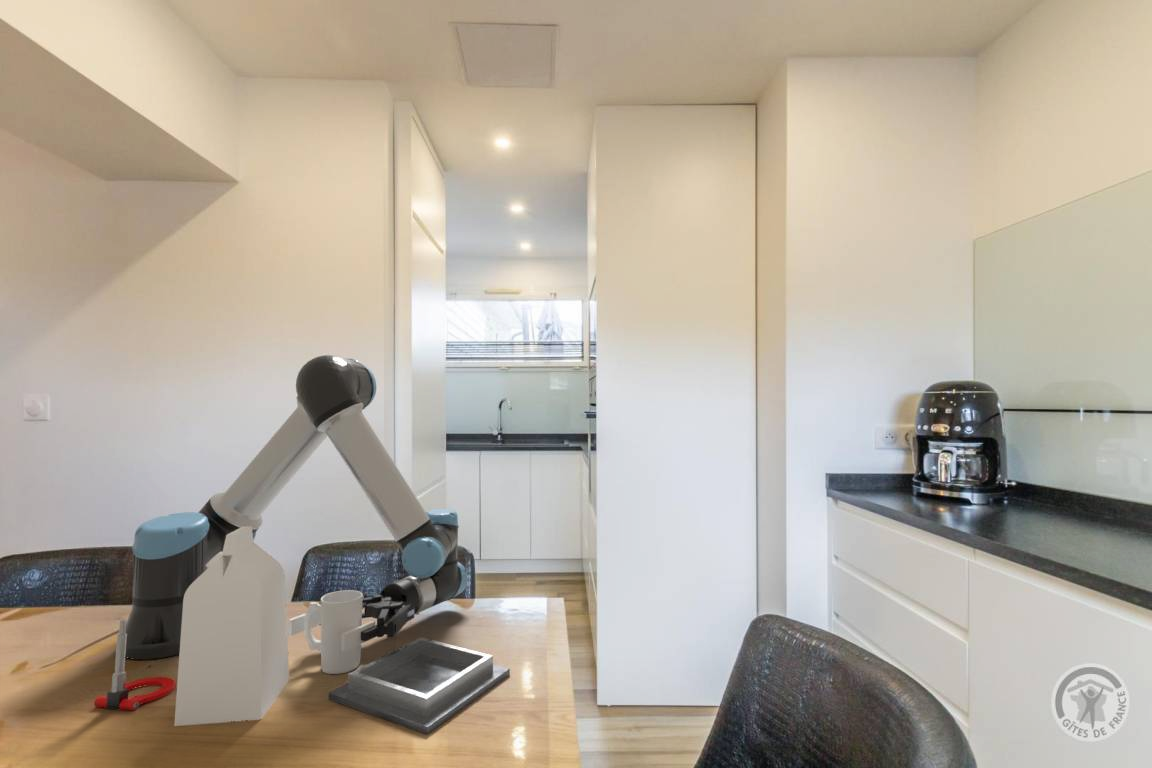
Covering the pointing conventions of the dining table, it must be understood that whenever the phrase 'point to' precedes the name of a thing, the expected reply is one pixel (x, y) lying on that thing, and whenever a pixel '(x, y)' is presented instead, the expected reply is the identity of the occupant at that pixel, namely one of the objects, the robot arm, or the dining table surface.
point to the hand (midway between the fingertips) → (315, 635)
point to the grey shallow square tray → (420, 683)
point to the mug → (336, 629)
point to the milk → (233, 636)
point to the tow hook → (120, 690)
